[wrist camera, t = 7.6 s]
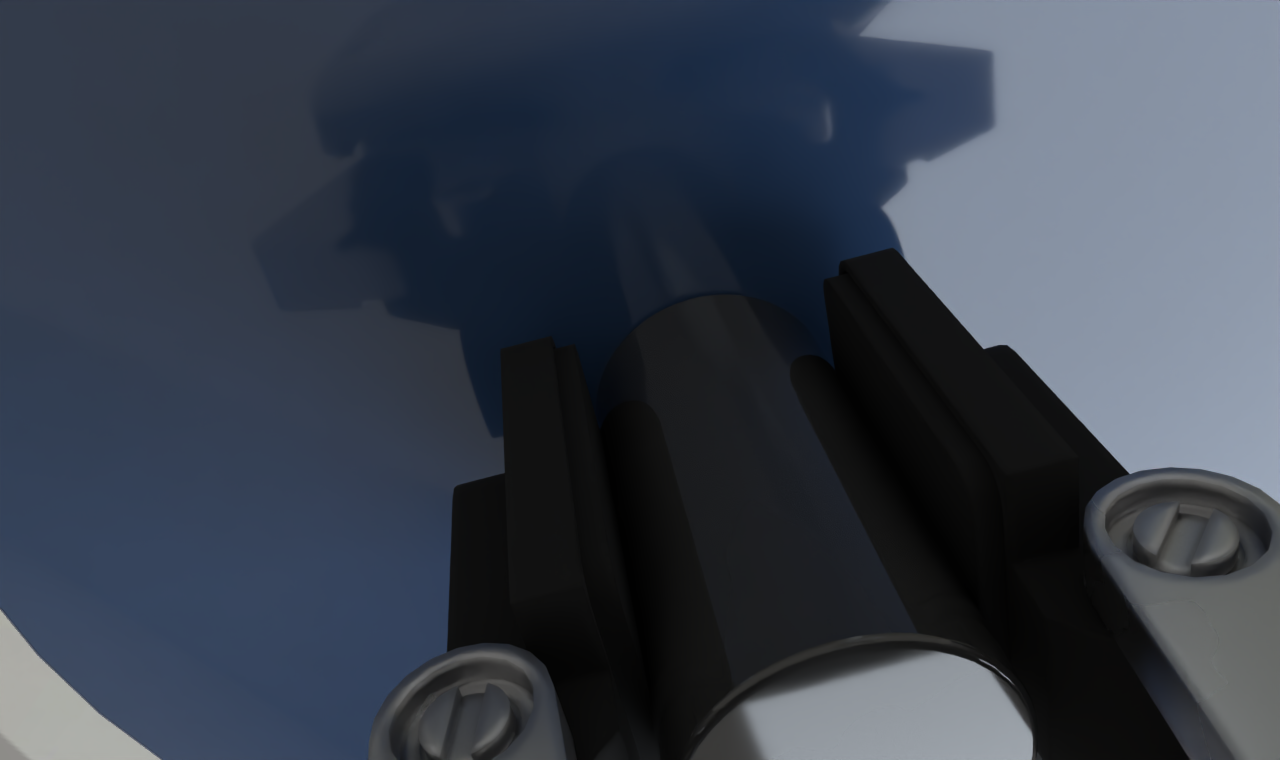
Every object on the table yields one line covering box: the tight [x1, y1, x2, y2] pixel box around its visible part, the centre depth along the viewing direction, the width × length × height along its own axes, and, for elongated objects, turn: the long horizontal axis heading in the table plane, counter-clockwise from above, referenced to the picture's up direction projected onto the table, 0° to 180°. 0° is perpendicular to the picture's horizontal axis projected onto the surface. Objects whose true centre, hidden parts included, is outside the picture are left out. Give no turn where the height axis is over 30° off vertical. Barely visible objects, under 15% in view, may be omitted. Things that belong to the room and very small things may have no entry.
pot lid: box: [0, 0, 1280, 760], centre depth 10 cm, size 17×17×6 cm
